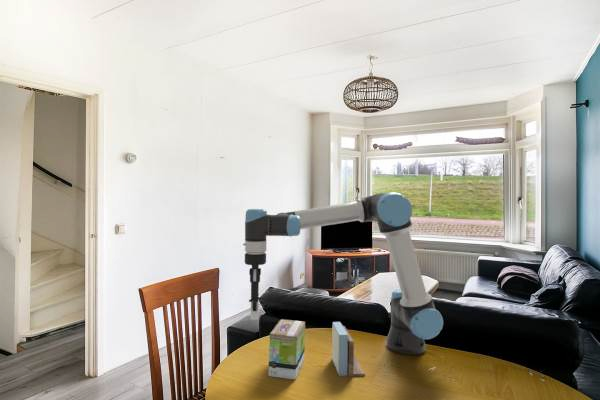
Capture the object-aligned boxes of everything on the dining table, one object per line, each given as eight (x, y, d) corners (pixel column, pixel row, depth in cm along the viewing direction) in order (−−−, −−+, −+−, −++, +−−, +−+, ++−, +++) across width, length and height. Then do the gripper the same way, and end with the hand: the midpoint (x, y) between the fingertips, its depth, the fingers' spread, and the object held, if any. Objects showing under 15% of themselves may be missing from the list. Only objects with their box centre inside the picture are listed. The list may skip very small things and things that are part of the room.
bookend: (354, 356, 130) (354, 325, 130) (364, 375, 116) (365, 340, 116) (340, 357, 130) (340, 325, 130) (349, 376, 116) (349, 341, 116)
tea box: (296, 380, 113) (297, 336, 113) (267, 377, 115) (268, 333, 115) (305, 359, 128) (305, 320, 128) (279, 356, 130) (279, 318, 130)
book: (339, 358, 129) (340, 321, 129) (347, 375, 117) (347, 334, 117) (331, 359, 129) (332, 322, 128) (338, 375, 117) (338, 334, 116)
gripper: (245, 249, 127) (244, 313, 127) (243, 255, 114) (242, 326, 114) (266, 249, 127) (265, 312, 127) (266, 255, 114) (265, 325, 114)
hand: (254, 319), depth 121 cm, fingers closed
